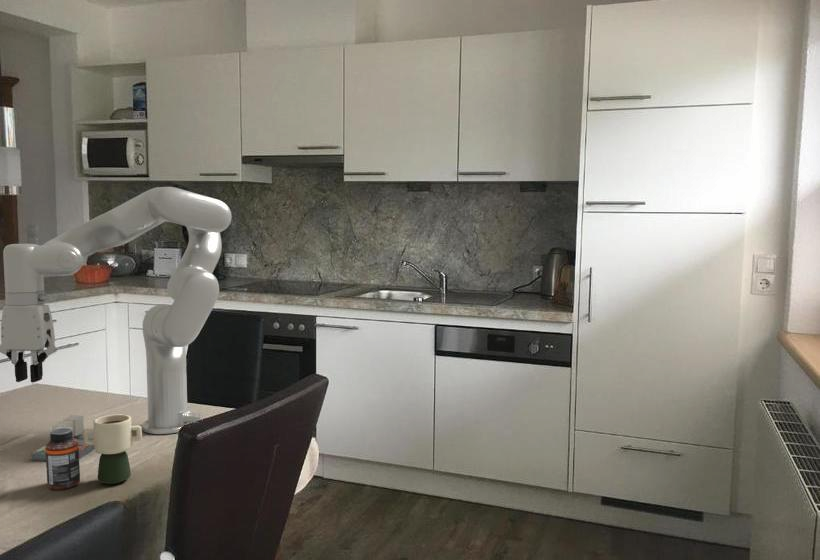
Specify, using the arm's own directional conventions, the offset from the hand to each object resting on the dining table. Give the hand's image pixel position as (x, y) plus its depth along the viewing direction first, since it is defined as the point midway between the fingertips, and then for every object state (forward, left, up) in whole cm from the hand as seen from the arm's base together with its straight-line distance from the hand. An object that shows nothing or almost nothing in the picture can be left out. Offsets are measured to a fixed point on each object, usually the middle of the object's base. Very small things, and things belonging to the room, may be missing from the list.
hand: (29, 380), depth 152 cm
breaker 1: (-5, -5, -15) cm, 16 cm away
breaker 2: (-4, -9, -15) cm, 18 cm away
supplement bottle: (-17, +16, -17) cm, 29 cm away
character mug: (-26, +13, -17) cm, 34 cm away
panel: (-7, -5, -17) cm, 19 cm away
